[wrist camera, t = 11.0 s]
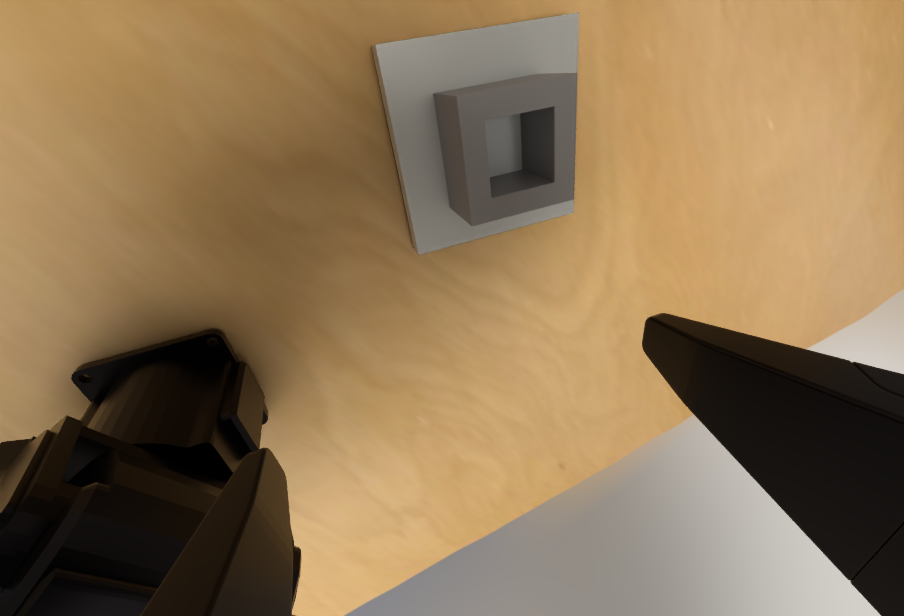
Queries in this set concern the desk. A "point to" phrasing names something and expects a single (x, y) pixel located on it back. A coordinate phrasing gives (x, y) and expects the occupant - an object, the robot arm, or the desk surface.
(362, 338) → the desk surface
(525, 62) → the narrow socket
